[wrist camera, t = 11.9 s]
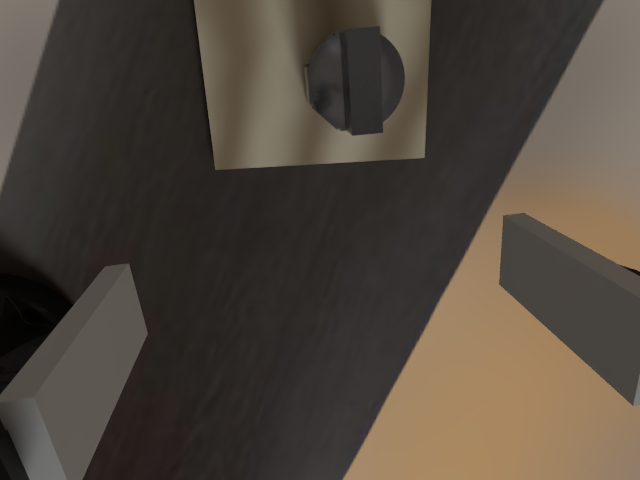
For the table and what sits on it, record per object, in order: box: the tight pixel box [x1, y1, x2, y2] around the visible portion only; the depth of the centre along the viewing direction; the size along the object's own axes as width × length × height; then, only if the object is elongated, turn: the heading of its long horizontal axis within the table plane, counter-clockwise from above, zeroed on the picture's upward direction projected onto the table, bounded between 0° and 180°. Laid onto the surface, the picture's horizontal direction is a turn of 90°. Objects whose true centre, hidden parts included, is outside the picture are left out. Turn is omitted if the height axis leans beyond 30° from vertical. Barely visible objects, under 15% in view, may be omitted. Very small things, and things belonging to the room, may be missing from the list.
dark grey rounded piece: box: [304, 26, 405, 136], centre depth 28 cm, size 6×6×8 cm
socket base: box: [194, 0, 431, 170], centre depth 31 cm, size 16×14×4 cm
